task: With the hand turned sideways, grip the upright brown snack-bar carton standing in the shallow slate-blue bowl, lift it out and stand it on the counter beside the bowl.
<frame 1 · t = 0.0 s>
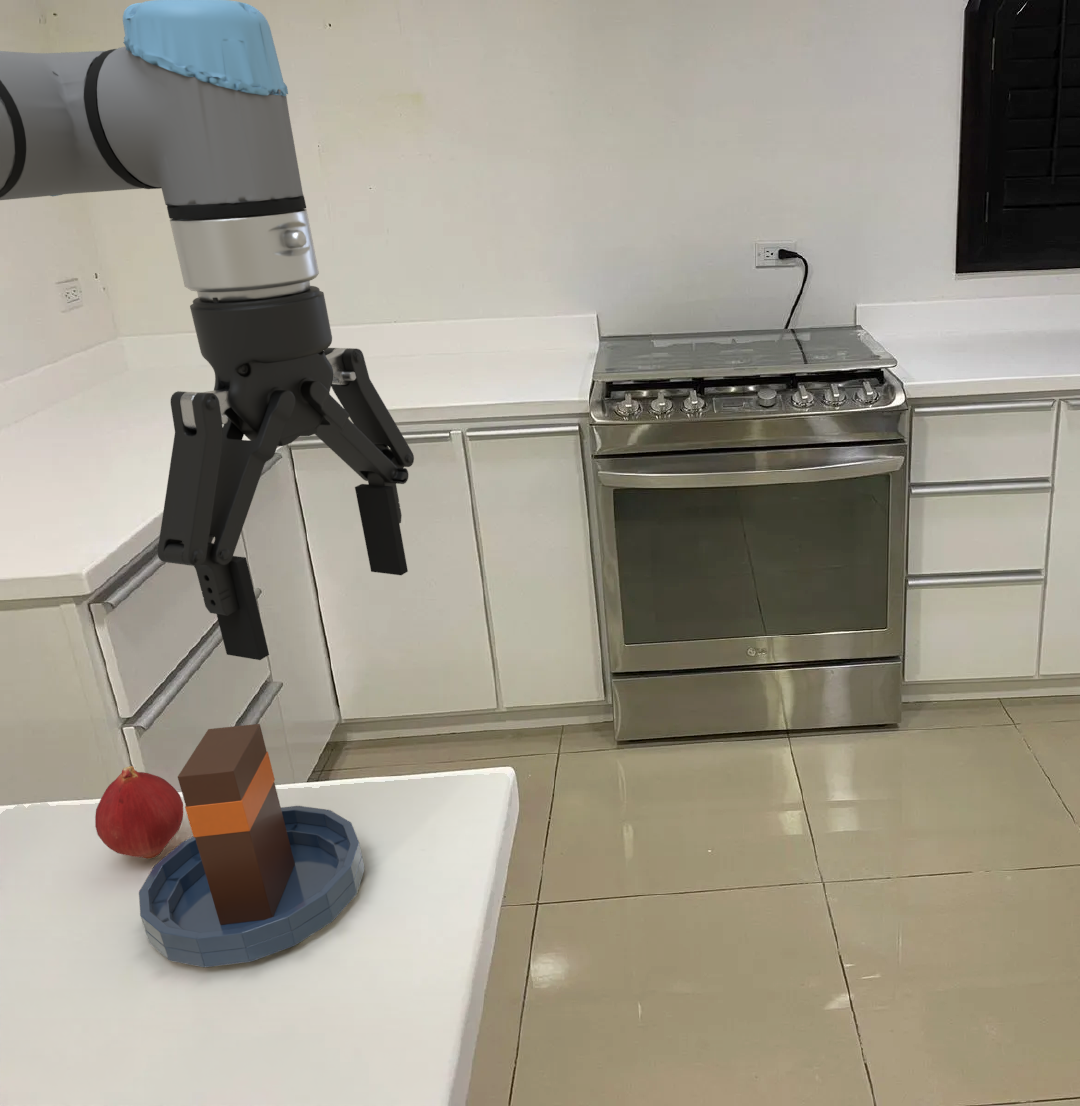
hand: (324, 610, 73), 21 cm above the countertop, tool pointing down, fingers open, 13 cm apart
bowl: (260, 900, 77), on the countertop
snack carton: (259, 893, 77), point 1 cm above the countertop, touching bowl
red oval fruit: (152, 858, 83), on the countertop
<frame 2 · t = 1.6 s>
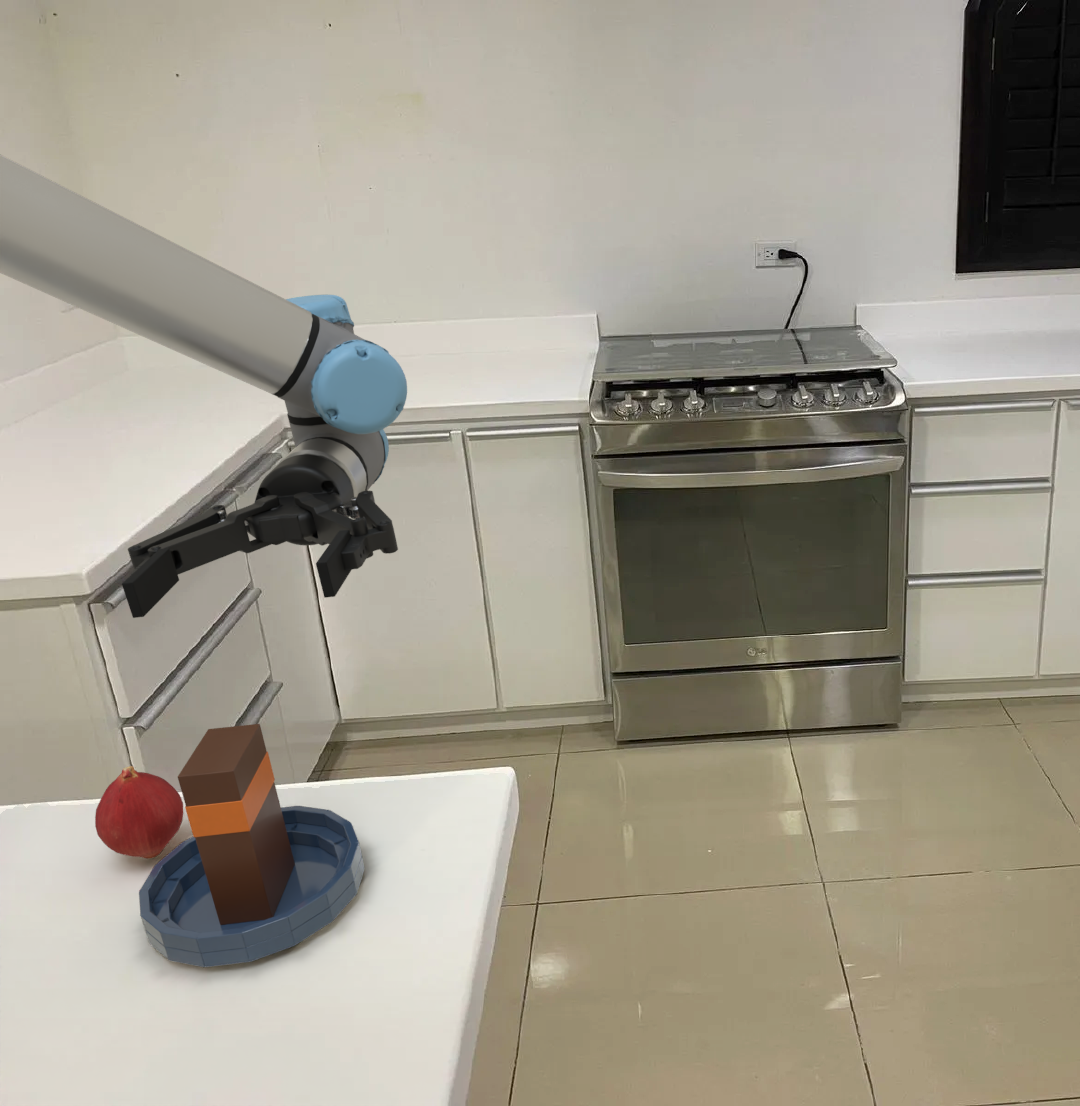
hand: (229, 590, 77), 21 cm above the countertop, tool horizontal, fingers open, 13 cm apart
nothing on the countertop moved.
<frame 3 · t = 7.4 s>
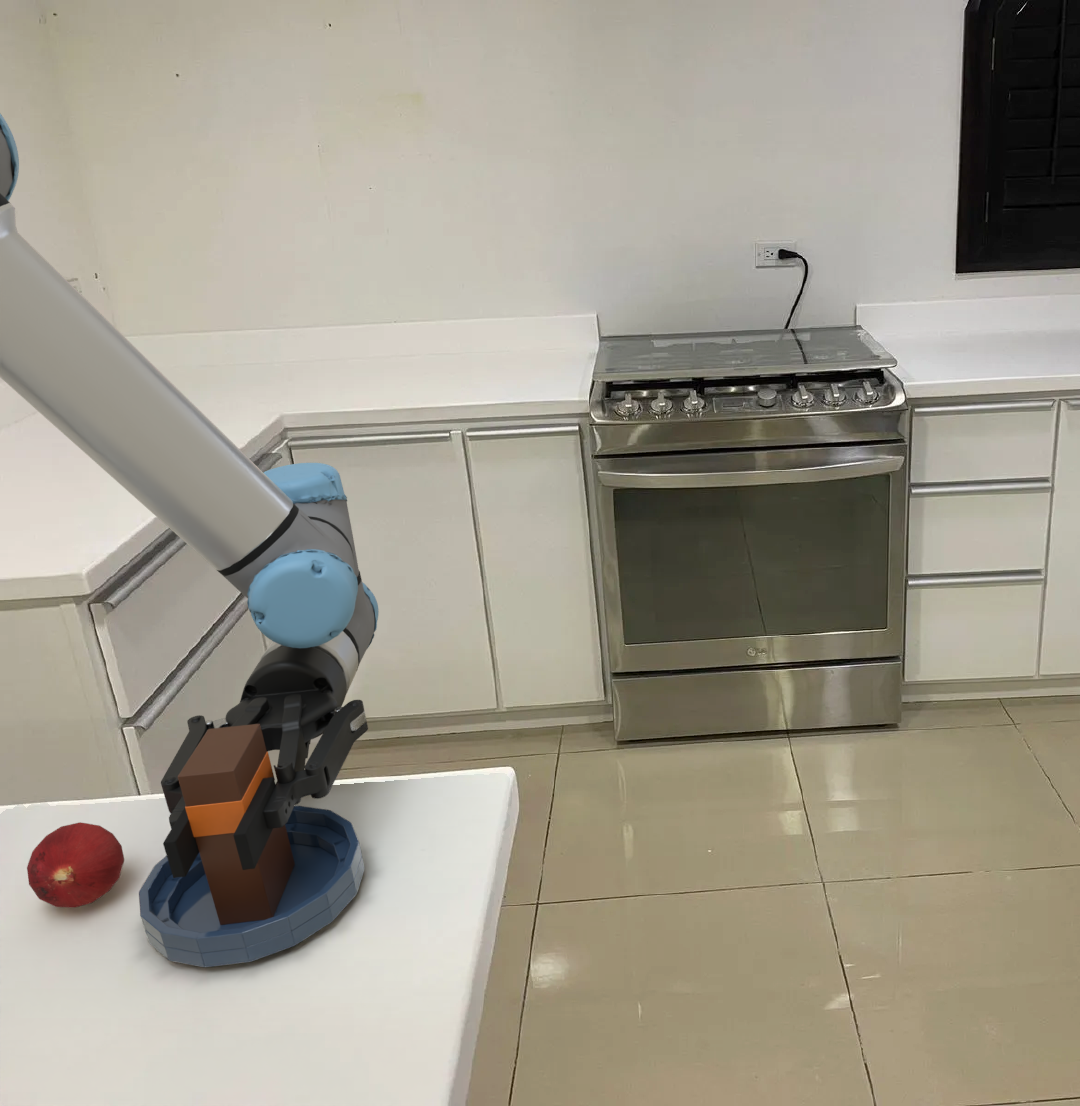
hand: (209, 855, 69), 8 cm above the countertop, tool horizontal, fingers closed on snack carton, 4 cm apart
snack carton: (259, 893, 77), point 1 cm above the countertop, touching bowl, gripper
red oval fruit: (89, 853, 81), point 1 cm above the countertop
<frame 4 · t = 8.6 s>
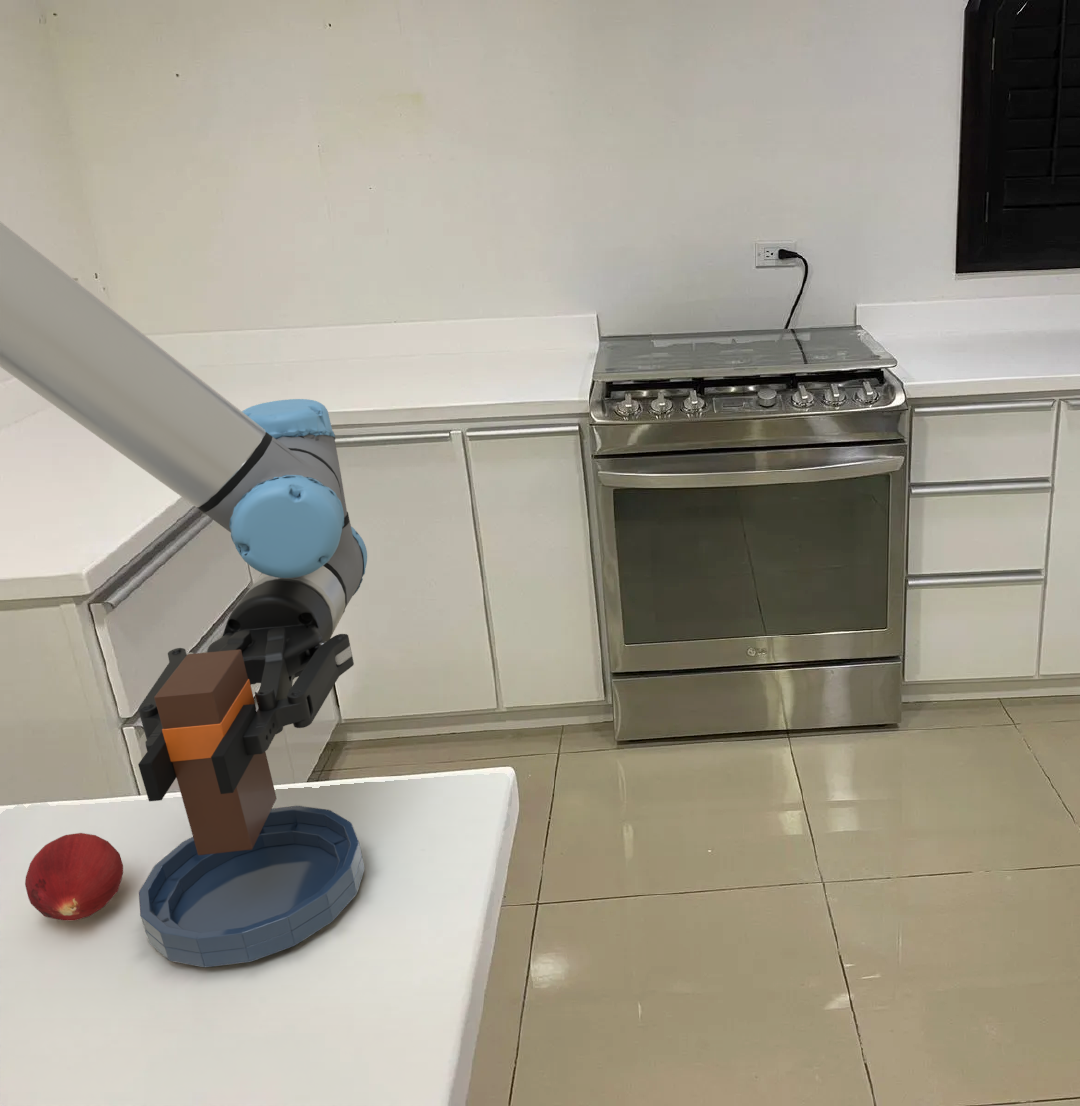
hand: (186, 778, 67), 14 cm above the countertop, tool horizontal, fingers closed on snack carton, 4 cm apart
snack carton: (239, 825, 74), point 6 cm above the countertop, touching gripper
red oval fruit: (83, 843, 79), point 3 cm above the countertop
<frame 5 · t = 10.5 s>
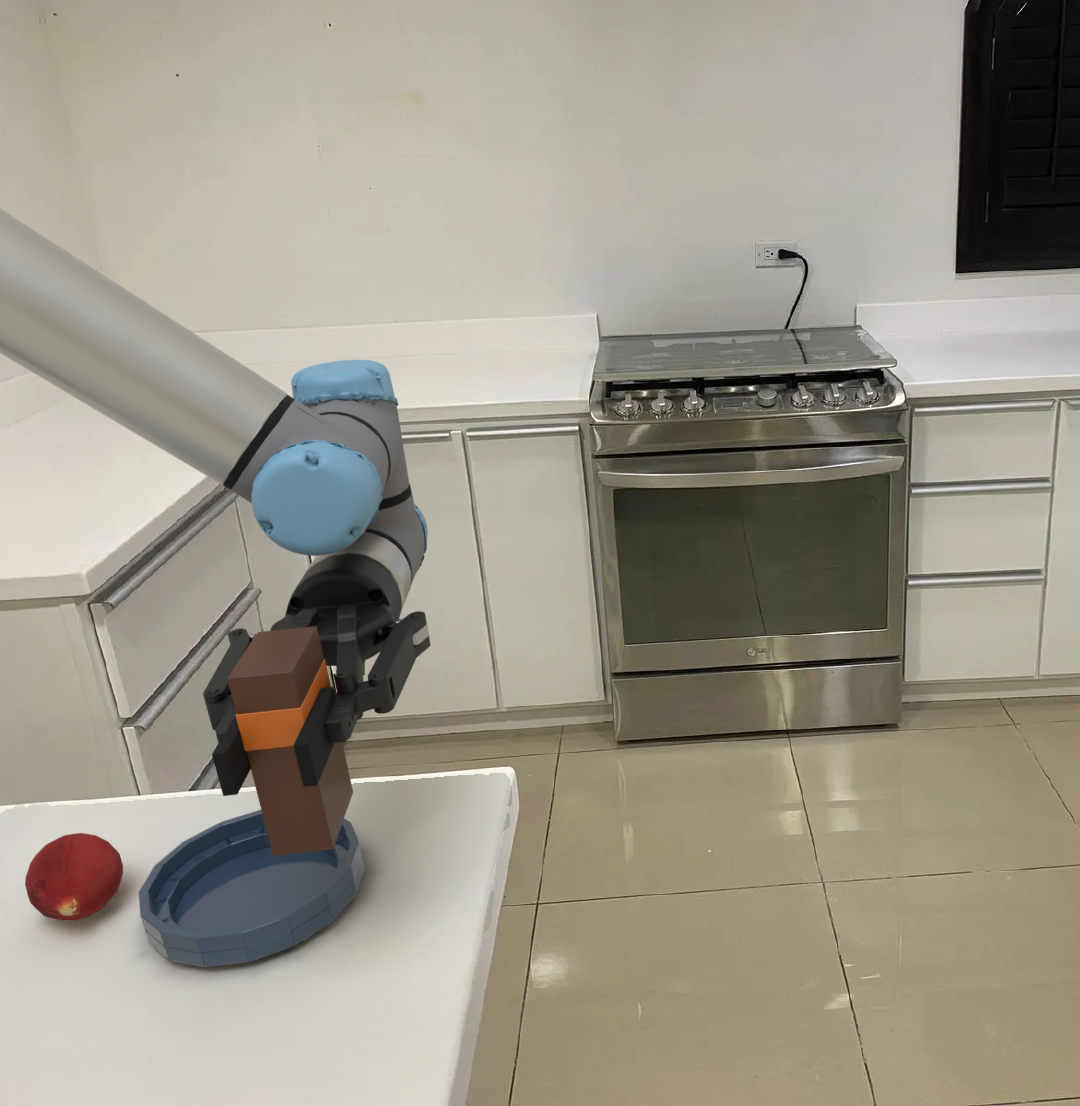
hand: (265, 769, 59), 18 cm above the countertop, tool horizontal, fingers closed on snack carton, 4 cm apart
snack carton: (315, 822, 67), point 11 cm above the countertop, touching gripper
everything else where it was.
when the fingers open (7 cm above the countertop, at t = 14.1 s): snack carton stays where it is, on the countertop.
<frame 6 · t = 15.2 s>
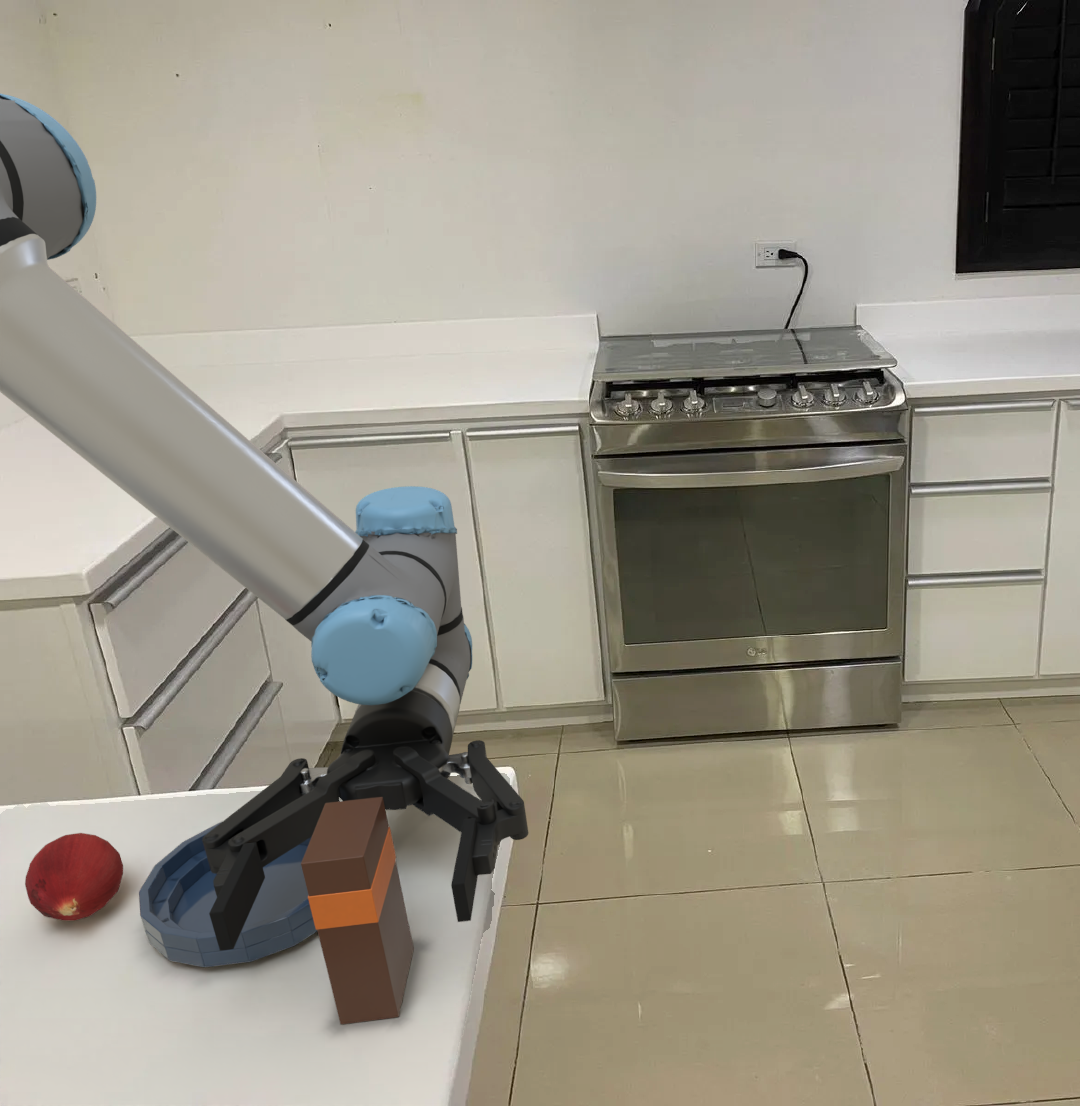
hand: (342, 917, 63), 8 cm above the countertop, tool horizontal, fingers open, 13 cm apart
snack carton: (378, 984, 69), on the countertop
everything else where it was.
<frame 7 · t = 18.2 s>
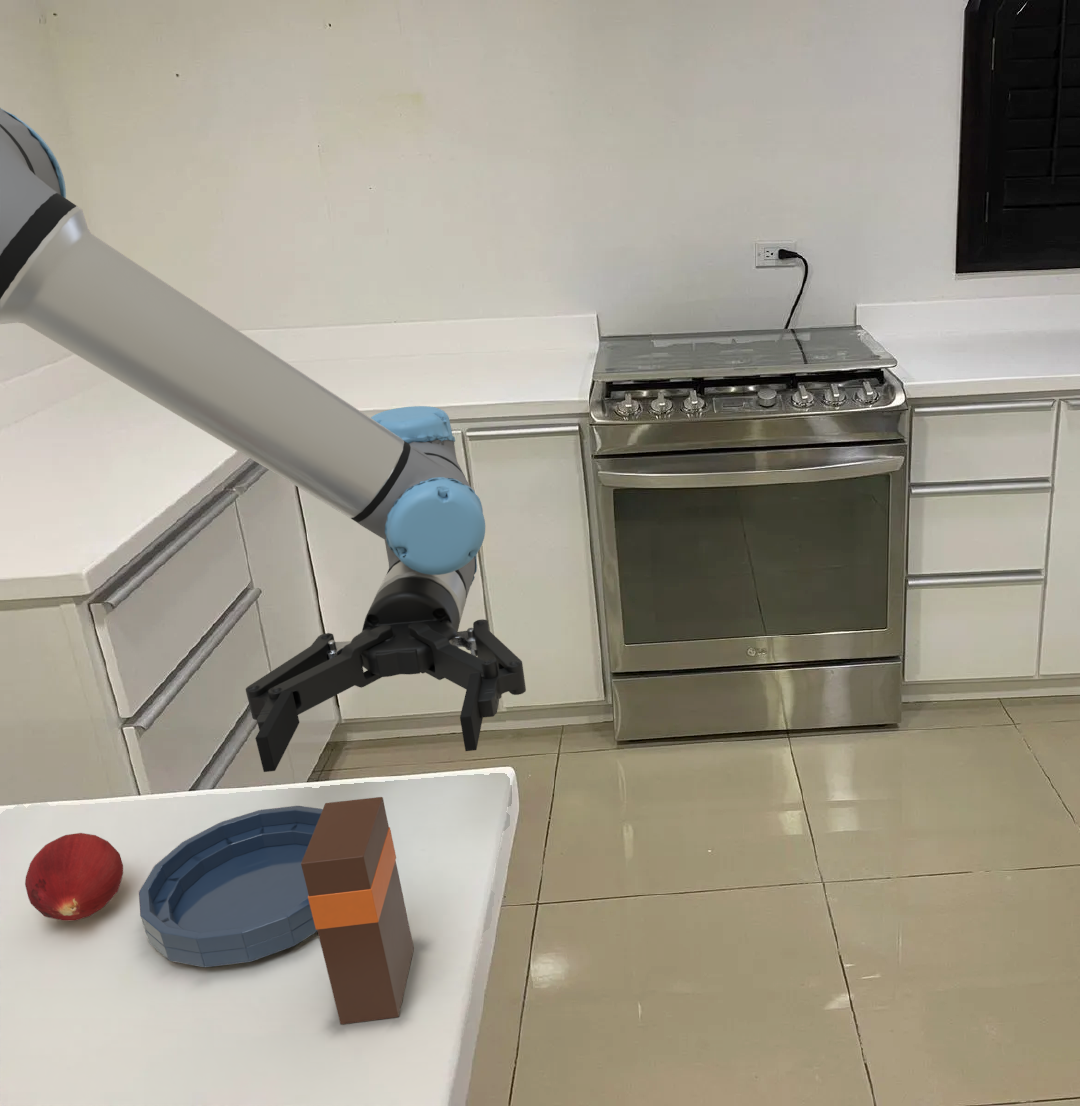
hand: (367, 744, 74), 12 cm above the countertop, tool horizontal, fingers open, 13 cm apart
nothing on the countertop moved.
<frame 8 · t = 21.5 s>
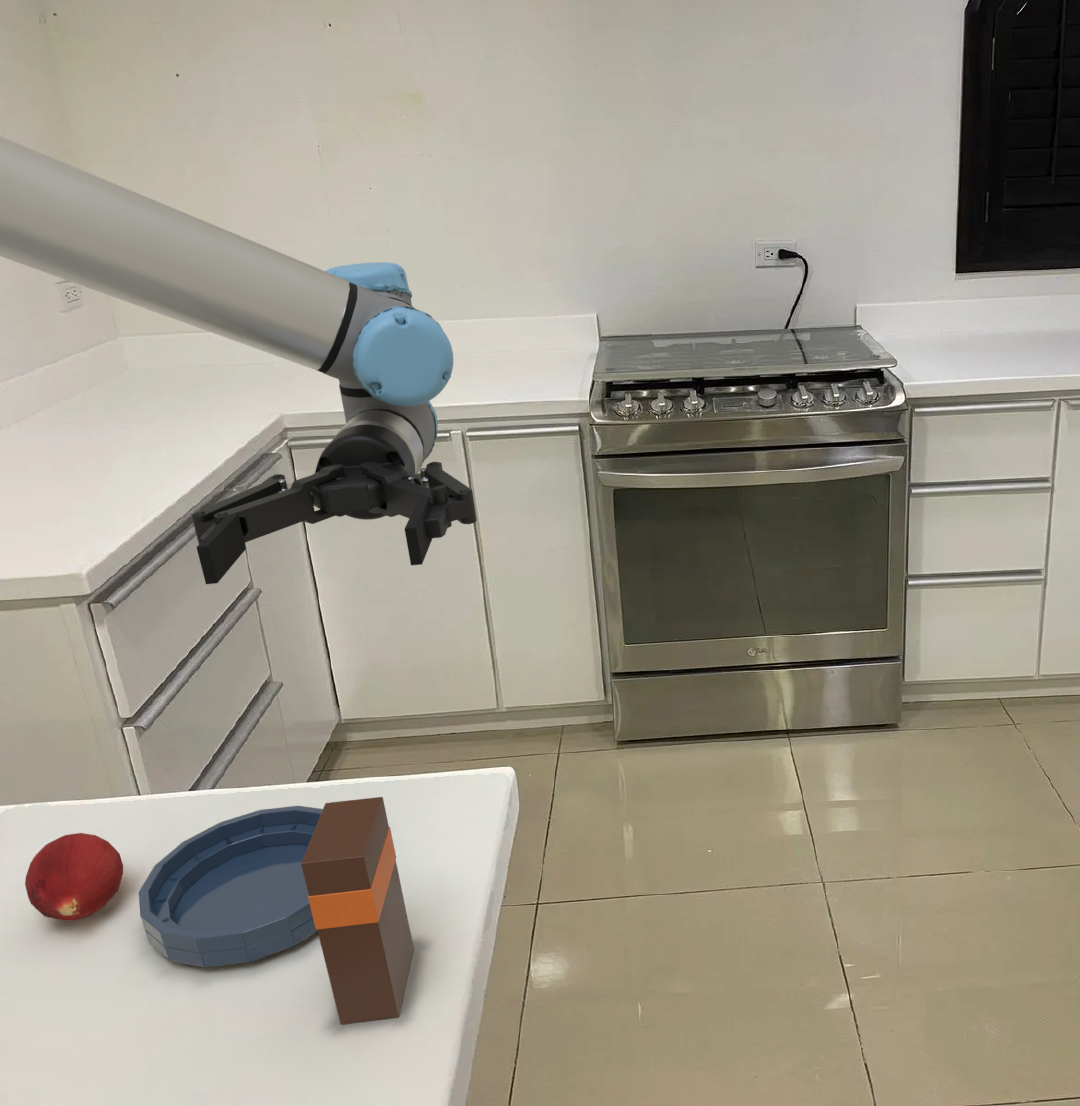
hand: (310, 556, 73), 24 cm above the countertop, tool horizontal, fingers open, 13 cm apart
nothing on the countertop moved.
at the end: snack carton inside the target area (0.1 cm from its centre), on the countertop; snack carton tilted 0°; the gripper is holding nothing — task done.
